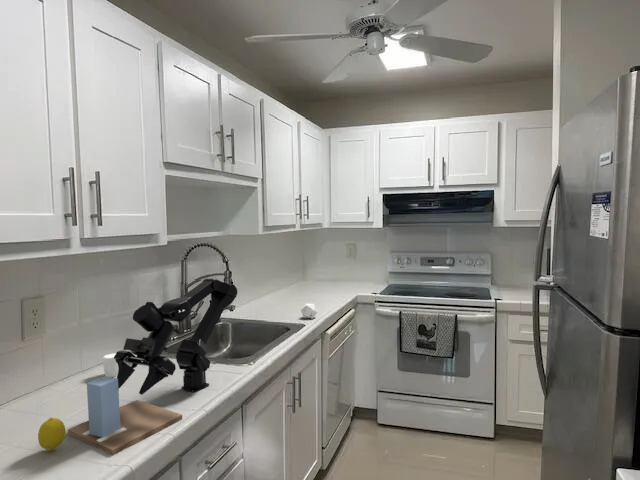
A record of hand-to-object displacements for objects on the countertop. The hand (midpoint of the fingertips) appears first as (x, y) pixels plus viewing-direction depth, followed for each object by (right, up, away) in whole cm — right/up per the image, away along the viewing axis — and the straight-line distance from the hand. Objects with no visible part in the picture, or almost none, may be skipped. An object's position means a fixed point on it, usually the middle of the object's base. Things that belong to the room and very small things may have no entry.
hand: (128, 391), depth 112 cm
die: (+46, -2, +116) cm, 125 cm away
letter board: (0, -9, -1) cm, 9 cm away
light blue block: (-3, -8, -6) cm, 10 cm away
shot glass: (-23, -8, +38) cm, 45 cm away
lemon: (-12, -10, -12) cm, 20 cm away
